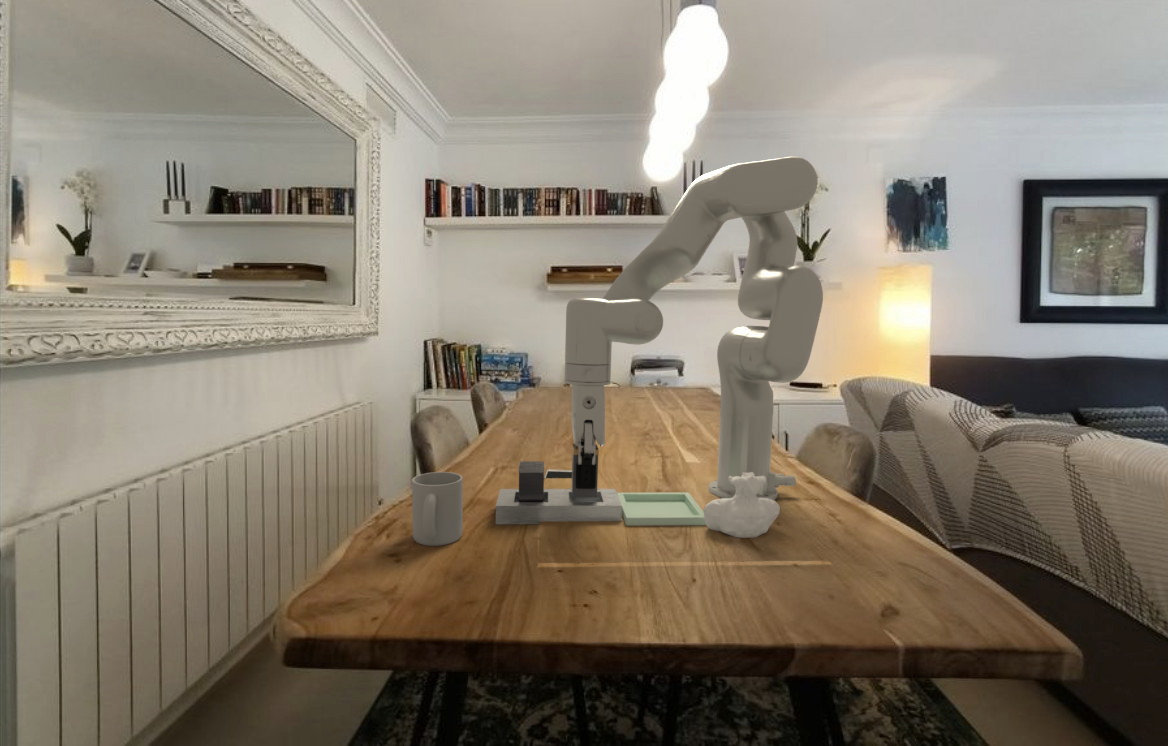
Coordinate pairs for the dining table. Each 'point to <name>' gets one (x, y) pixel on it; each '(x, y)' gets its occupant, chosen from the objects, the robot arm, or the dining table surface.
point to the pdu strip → (552, 501)
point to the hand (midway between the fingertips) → (584, 482)
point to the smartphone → (558, 474)
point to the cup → (437, 508)
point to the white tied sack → (742, 509)
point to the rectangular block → (575, 492)
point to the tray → (661, 509)
